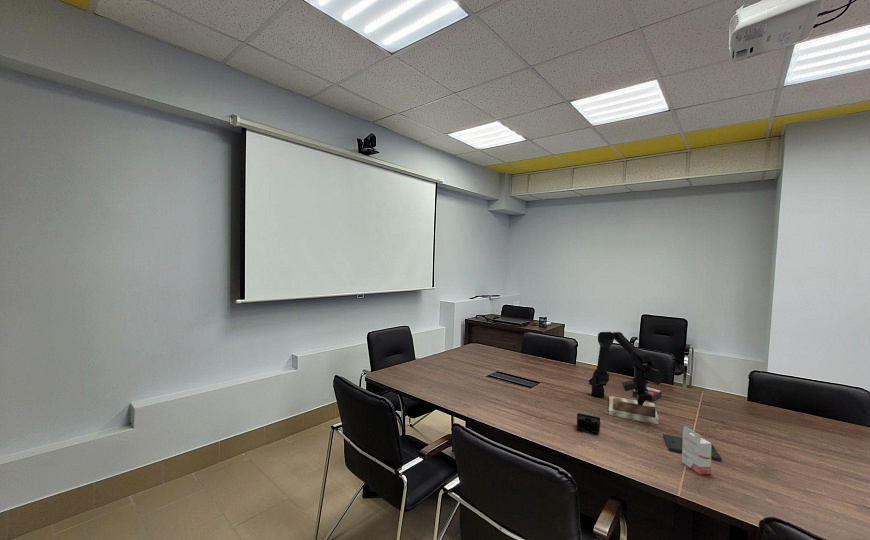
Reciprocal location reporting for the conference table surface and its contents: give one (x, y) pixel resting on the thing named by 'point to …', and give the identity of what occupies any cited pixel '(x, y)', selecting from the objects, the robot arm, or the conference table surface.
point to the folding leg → (634, 408)
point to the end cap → (588, 424)
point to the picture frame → (676, 446)
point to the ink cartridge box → (696, 452)
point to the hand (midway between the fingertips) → (639, 407)
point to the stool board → (630, 414)
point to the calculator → (653, 394)
